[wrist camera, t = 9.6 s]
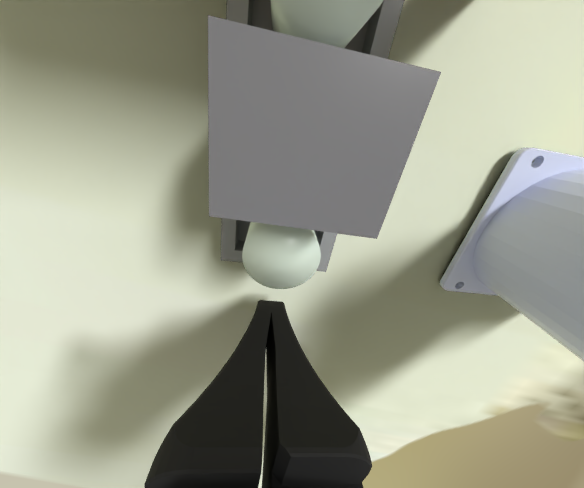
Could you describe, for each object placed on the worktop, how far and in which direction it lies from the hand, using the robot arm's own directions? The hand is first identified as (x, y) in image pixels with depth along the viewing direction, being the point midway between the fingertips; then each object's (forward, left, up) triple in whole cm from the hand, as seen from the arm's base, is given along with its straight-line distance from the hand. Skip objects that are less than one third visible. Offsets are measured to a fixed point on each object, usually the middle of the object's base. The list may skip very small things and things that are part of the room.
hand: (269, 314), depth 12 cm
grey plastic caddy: (0, -9, -2) cm, 9 cm away
